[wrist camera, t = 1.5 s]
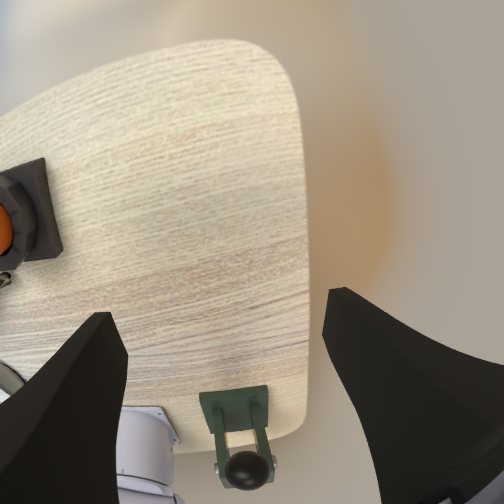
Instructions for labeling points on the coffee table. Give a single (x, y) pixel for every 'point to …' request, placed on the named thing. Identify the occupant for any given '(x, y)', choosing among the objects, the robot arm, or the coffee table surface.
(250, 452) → the switch lever
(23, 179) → the switch box
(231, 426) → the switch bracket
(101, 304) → the coffee table surface
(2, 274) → the bird model
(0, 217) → the box button
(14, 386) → the pocket watch
